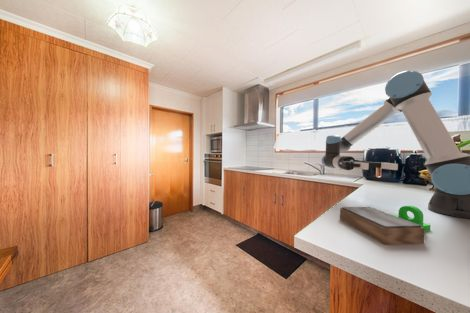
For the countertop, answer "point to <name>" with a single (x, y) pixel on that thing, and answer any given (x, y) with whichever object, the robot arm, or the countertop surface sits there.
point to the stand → (382, 225)
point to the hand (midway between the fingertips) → (382, 166)
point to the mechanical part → (417, 216)
